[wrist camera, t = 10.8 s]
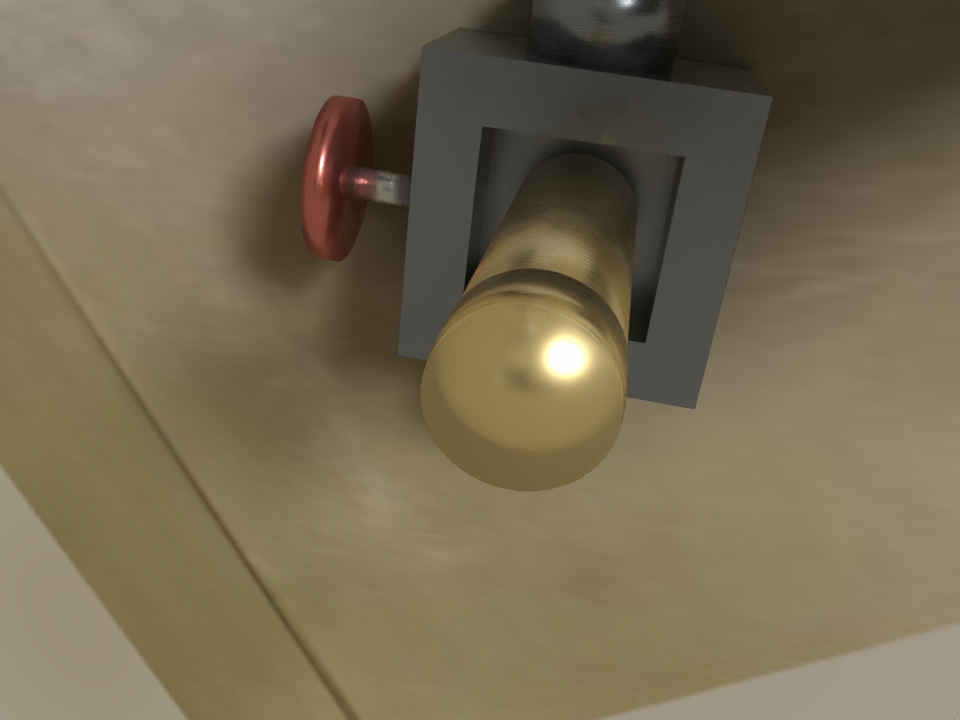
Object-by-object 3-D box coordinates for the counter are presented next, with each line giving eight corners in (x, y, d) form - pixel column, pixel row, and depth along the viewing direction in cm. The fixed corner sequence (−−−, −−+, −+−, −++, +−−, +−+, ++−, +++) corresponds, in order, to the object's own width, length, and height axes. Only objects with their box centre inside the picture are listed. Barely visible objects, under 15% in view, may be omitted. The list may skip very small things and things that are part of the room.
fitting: (521, 142, 33) (427, 290, 19) (649, 162, 32) (643, 328, 19) (505, 263, 35) (410, 472, 21) (625, 283, 34) (605, 509, 21)
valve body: (368, -73, 33) (307, -73, 28) (775, -20, 32) (801, -8, 26) (346, 344, 41) (295, 413, 35) (674, 404, 39) (677, 486, 34)
